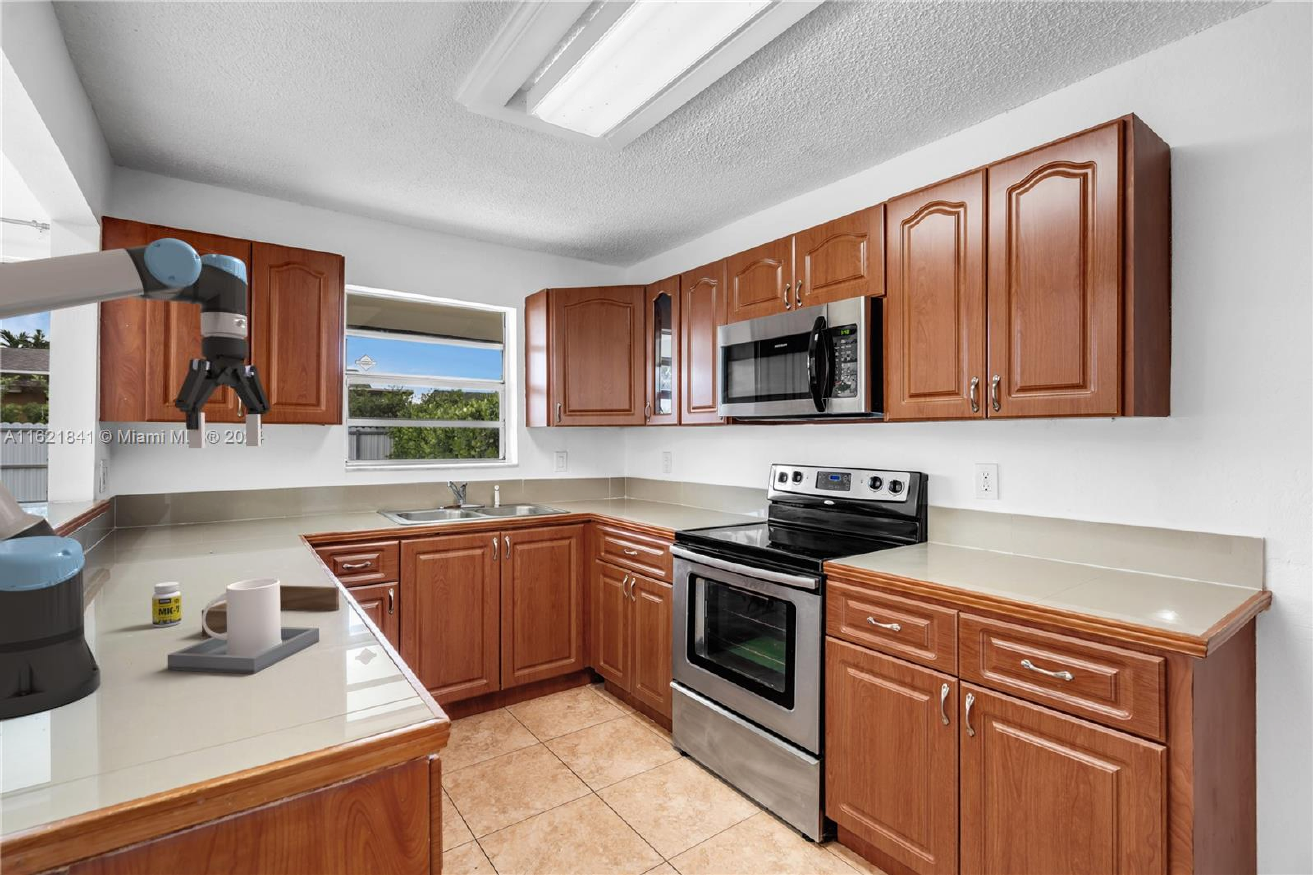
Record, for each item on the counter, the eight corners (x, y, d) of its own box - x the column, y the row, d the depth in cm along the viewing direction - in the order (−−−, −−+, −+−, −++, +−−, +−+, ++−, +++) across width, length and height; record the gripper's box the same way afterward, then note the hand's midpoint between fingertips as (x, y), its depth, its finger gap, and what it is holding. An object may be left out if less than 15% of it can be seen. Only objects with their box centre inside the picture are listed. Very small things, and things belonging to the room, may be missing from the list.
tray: (254, 673, 104) (254, 658, 104) (167, 669, 106) (167, 654, 106) (319, 641, 120) (319, 628, 120) (242, 638, 122) (242, 625, 122)
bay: (273, 638, 121) (272, 612, 121) (202, 635, 124) (201, 610, 123) (339, 609, 141) (338, 586, 141) (277, 607, 143) (276, 585, 143)
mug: (198, 666, 106) (196, 594, 106) (208, 650, 113) (207, 583, 113) (280, 654, 111) (278, 586, 111) (284, 640, 119) (283, 576, 118)
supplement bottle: (156, 629, 128) (155, 587, 128) (149, 625, 131) (148, 584, 131) (184, 623, 132) (184, 583, 132) (177, 619, 135) (176, 580, 135)
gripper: (186, 326, 110) (188, 448, 111) (288, 345, 135) (289, 445, 135) (148, 328, 111) (150, 449, 112) (256, 346, 136) (258, 445, 136)
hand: (226, 447), depth 123 cm, fingers open, 13 cm apart
